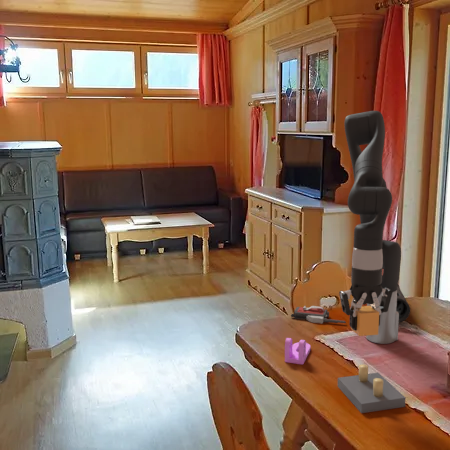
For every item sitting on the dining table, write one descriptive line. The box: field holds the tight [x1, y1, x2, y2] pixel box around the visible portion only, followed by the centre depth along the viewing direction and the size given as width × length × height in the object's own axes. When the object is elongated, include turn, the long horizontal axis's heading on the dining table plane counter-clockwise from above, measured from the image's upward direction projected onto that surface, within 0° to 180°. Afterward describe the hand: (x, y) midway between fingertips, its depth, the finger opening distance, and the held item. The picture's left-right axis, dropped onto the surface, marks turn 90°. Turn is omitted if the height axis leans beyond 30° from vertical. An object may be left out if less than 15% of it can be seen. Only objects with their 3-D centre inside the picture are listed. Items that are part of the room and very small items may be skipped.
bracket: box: [284, 337, 311, 365], centre depth 164 cm, size 13×6×7 cm, turn 159°
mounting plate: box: [337, 363, 407, 414], centre depth 139 cm, size 12×14×6 cm
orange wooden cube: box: [350, 305, 379, 337], centre depth 137 cm, size 5×5×6 cm
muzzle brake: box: [396, 284, 411, 323], centre depth 199 cm, size 10×28×10 cm, turn 172°
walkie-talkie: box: [290, 305, 347, 324], centre depth 193 cm, size 9×4×20 cm
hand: (364, 328), depth 137 cm, fingers closed on orange wooden cube, 5 cm apart
